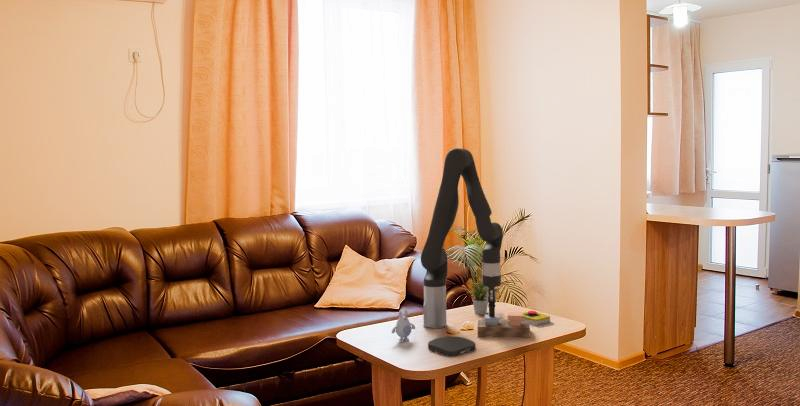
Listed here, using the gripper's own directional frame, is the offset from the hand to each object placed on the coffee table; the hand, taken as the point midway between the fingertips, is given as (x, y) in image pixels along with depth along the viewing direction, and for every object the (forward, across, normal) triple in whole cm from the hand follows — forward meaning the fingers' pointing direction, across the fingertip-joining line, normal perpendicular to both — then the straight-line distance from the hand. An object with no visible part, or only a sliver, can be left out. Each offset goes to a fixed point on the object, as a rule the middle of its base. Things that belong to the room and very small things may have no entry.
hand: (491, 316), depth 232 cm
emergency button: (+8, -18, +18) cm, 27 cm away
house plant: (+7, -29, -5) cm, 30 cm away
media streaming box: (+7, +20, -15) cm, 26 cm away
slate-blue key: (+4, 0, 0) cm, 4 cm away
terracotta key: (+3, 0, +9) cm, 9 cm away
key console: (+7, 0, +4) cm, 8 cm away
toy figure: (+7, +13, -34) cm, 37 cm away
